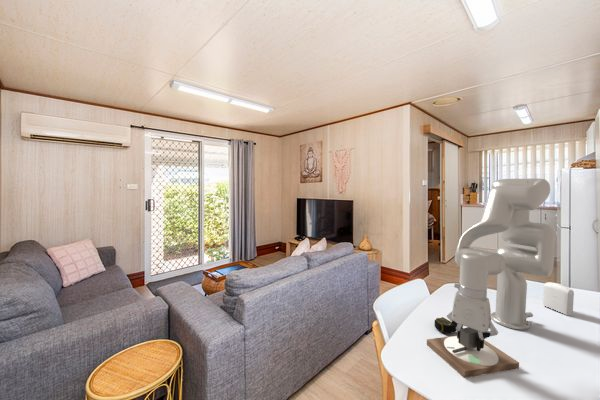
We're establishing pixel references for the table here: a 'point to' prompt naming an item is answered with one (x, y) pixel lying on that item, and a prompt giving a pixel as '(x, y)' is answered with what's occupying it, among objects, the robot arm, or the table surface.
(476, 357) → the dial face
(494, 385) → the table surface
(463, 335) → the grey mallet
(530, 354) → the table surface
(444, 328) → the tape measure
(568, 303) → the photo printer
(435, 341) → the tuner board
